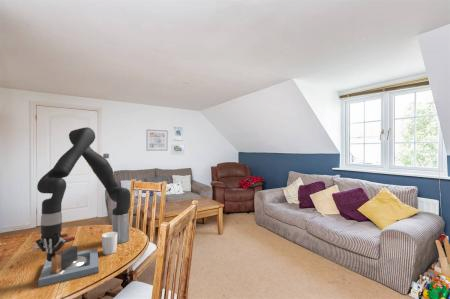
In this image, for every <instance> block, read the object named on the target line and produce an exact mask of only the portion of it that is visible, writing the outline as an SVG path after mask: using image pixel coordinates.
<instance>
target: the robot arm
mask: <svg viewBox="0 0 450 299" xmlns="http://www.w3.org/2000/svg"><path fill="white" fill-rule="evenodd" d="M68 138H69V141H70V143H71V144H72V147H70V148H69V149H68V150H67V151H66V152H64V154H62V155H61V156H60V158H59V159H58V160H57V161H56V163H55V164H54V166H53V168H51V169H50V170H49V171H47V172H46V173H45V174H44V175H43V176H42V177H41V178H40V179H39V180H38V181H37V182H38V183H37V185H36V189H37V190H38V192H39V193H41V194H52V195H51V197H50V198H45V199H44V200H42V202H41V216H40V235H41V236H40V238H39V239H37V240H35V243H36V246H37V245H38V246H39V247H40V248H39V249H40V251H41V252H45V253H46V259H47V260H48V261H51V258H52V257H53V256H55V255H56V252H57V251H60V250H61V249H62V248H63V246H64V245H65V242H66V239H67V238H61V237H62V236H61V235H62V231H63V229H62V228H63V227H62V226H63V214H62V202H63V200H64V199H63V198H64V195H65V193H66V189H67V182H66V179H64V178H67V177H68V176H69V175H70V174H71V172H72V171H73V169H74V167H75V165H76V164H77V162H78V160H79V159H81V157H83V159H84V160H85V162H86V163H87V164H88V166H89V167H90V168H91V170H92V172H93V173H94V175H95V176H96V177H97V179H98V180H99V181H100V183H101V184H102V185H103V187H104V189H105V190H106V192H107V194H108V197H109V198H110V199H111V201H113V202H115V203H116V207H114V208H113V209H112V212H111V213H112V215H111V216H112V218H111V219H112V222H111V223H112V227H111V228H112V230H111V232H117V233H118V235H117V244H123V243H126V242H129V241H130V225H129V220H130V219H129V217H130V216H129V211H130V208H131V191H130V189H128V188H126V187H121V186H120V185H119V184H118V183H117V181H116V179H115V177H114V170H113V168H112V165H111V163H110V162H109V161H108V160H107V159H106V157H104V156H103V155H101V154H99V153H98V152H96V151H95V150H94V149H93V148H92V147H91V145H92V144H93V143H94V141H95V139H96V133H95V131H94V129H92V128H91V127H88V126H87V127H81V128H76V129H74V130H71V131H70V132H69V133H68ZM63 239H64V240H63ZM66 243H67V242H66ZM43 246H44V247H43Z"/></svg>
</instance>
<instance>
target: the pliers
mask: <svg viewBox="0 0 450 299" xmlns="http://www.w3.org/2000/svg"><path fill="white" fill-rule="evenodd" d="M61 236H62V237H61V238H62V239H63V240H64V239H66V242H65V243H69V242H73V241H75V239H76V237H75V236H71V237H68V236H69V235H68V233H63V234H61ZM43 247H44V246H43ZM44 248H45V247H44ZM31 249H33V250H36V249H40V247H39V246H38V245H37V244H36V245H35V246H33V247H31Z"/></svg>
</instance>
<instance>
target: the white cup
mask: <svg viewBox="0 0 450 299" xmlns="http://www.w3.org/2000/svg"><path fill="white" fill-rule="evenodd" d="M117 235H118V233H117V232H112V231H108V232H104V233H103V234H102V235H101V244H102V246H101V247H102V254H103V255H106V256H108V255H113V254H115V253H116V252H117V247H118V243H117Z"/></svg>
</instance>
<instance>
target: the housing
mask: <svg viewBox="0 0 450 299" xmlns="http://www.w3.org/2000/svg"><path fill="white" fill-rule="evenodd" d="M98 253H99V252H98V248H93V249H87V250H81V251H77V256H83V257H86V266H84V267H79V268H75V269H70V270H62V271H61V272H58V273H51V261H48V260H47V258H46V259H45V263H44V265H43V267H42V270H41V273H40V275H39V278H38V283H37V284H38V285H37V286H38V288H42V287H46V286H50V285H54V284H55V285H56V284H59V283H62V282H67V281H70V280H74V279H79V278H80V279H81V278H82V277H83V278H84V277H87V276H88V277H89V276H92V275H95V274H99V272H100V270H99V268H100V267H99V254H98Z"/></svg>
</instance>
